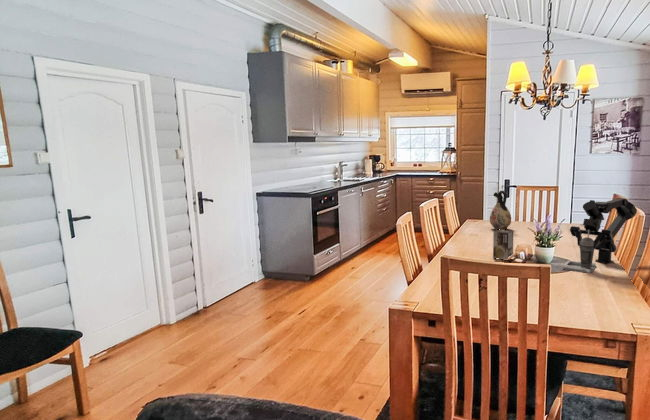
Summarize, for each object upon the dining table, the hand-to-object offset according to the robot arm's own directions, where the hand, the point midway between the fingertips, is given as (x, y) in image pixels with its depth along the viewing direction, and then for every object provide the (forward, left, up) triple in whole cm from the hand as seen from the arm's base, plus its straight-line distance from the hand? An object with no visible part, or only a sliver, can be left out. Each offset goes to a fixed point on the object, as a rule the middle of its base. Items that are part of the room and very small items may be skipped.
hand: (586, 246), depth 227 cm
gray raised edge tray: (0, -3, -12) cm, 13 cm away
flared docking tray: (0, -3, -12) cm, 13 cm away
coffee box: (+17, -37, -12) cm, 43 cm away
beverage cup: (-1, 0, -11) cm, 11 cm away
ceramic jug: (-49, -99, -12) cm, 111 cm away
